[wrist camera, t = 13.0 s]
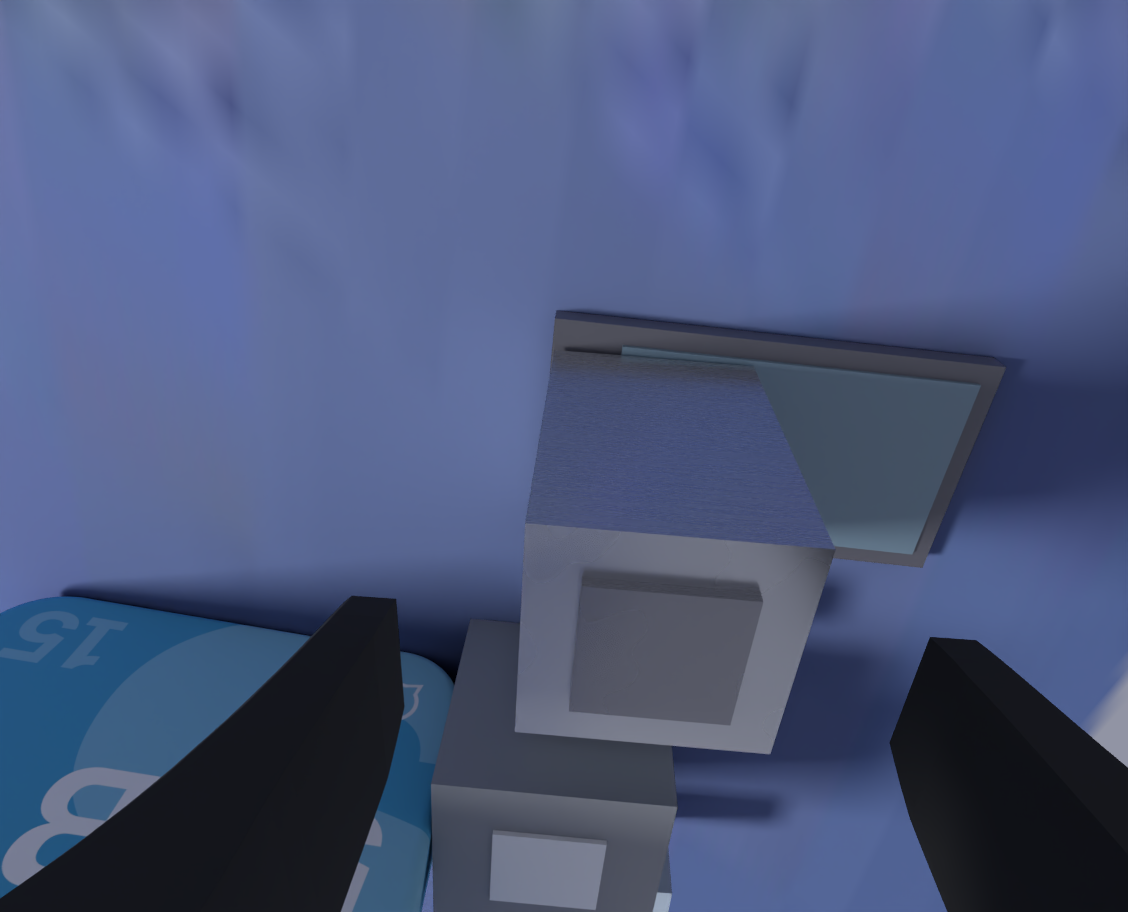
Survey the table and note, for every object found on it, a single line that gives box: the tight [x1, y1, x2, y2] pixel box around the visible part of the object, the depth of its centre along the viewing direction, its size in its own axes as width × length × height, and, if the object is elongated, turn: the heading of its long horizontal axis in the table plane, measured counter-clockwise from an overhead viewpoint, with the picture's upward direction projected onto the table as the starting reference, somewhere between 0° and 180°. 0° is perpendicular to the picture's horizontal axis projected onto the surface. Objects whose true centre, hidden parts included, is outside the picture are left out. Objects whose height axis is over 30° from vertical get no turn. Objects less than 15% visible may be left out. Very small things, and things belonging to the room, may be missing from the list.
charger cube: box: [431, 619, 678, 912], centre depth 18 cm, size 5×5×5 cm
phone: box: [550, 311, 1006, 568], centre depth 16 cm, size 5×9×1 cm, turn 85°
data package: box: [0, 596, 454, 912], centre depth 15 cm, size 12×4×12 cm, turn 80°
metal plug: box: [515, 350, 836, 754], centre depth 13 cm, size 4×4×6 cm
